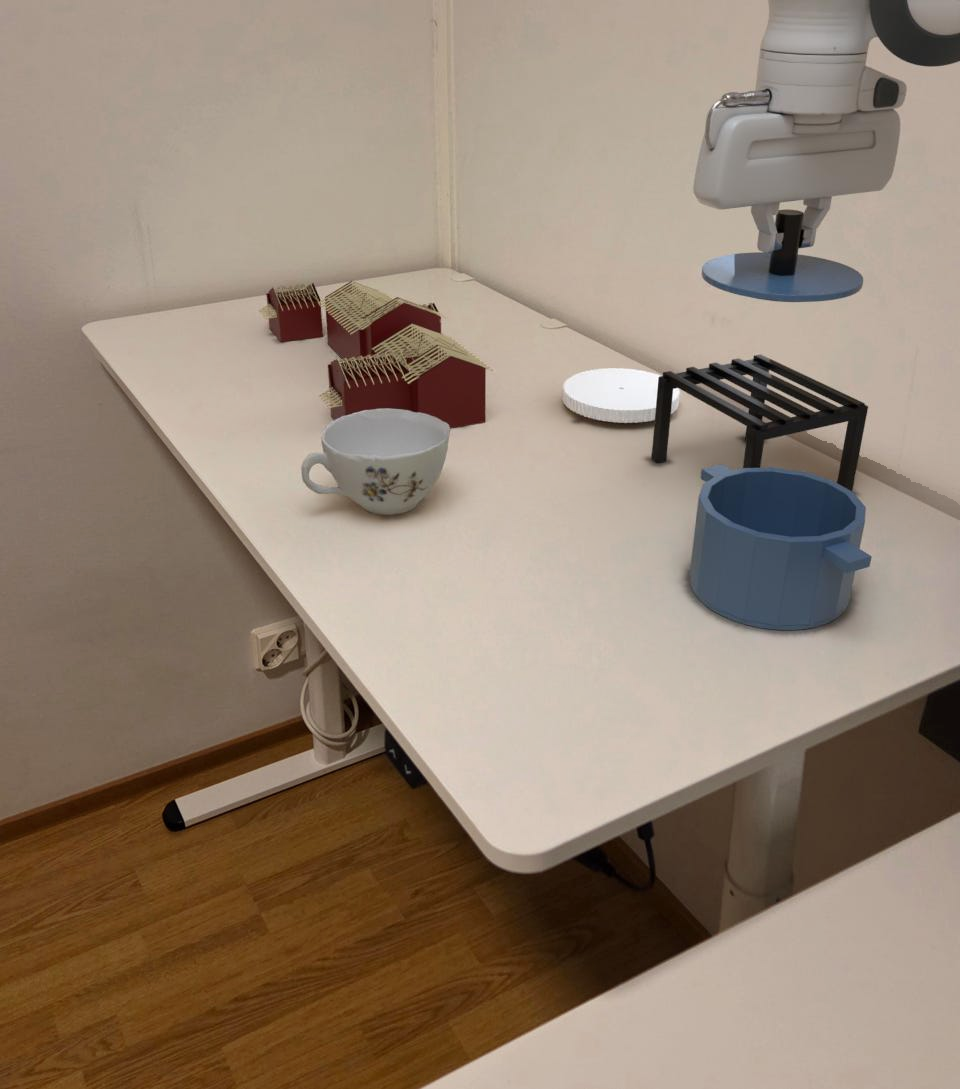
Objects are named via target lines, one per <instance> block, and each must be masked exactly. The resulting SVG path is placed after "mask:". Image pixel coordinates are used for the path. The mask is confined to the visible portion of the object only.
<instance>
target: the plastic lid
mask: <svg viewBox="0 0 960 1089" xmlns="http://www.w3.org/2000/svg"><path fill="white" fill-rule="evenodd" d="M660 376H661V375H660V374H656V373H654V372H651V371H647V370H642V369H640V370H638V369H636V368H635V369H633V368H622V367H621V368H619V367H615V368H613V367H610V368H608V367H605V368H596V369H591V370H590V369H589V370H584V371H581V372H579V373H578V372H577V373H576V374H573V375H571V376H570V377H568V378H566V380H564V382H563V384H562V395H561V396H562V398H561V399H562V403H563V405H565V407H567V409H569V410H570V411H572V412H573V413H575V414H577V415H580V416H583V417H585V418H586V417H587V418H588V419H592V420H597V421H602V422H609V423H618V424H621V423H624V424H627V423H629V424H632V423H635V424H638V423H643V422H645V423H648V422H652V421H655V412H656V401H657V390H658V379H659V377H660ZM680 398H681V389H679V388H675V389H673V396H672V406H671V414H674V413H675V412H676V411H677V410H678V409H679V407H680Z"/></svg>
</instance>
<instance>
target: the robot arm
mask: <svg viewBox="0 0 960 1089" xmlns="http://www.w3.org/2000/svg"><path fill="white" fill-rule="evenodd" d="M767 3H768V19H767V24H766V28H765V30H764V34H763V36H762V38H761V42H760V45H759V46H760V47H759V56H758V64H757V70H756V71H757V72H756V81H755V89H754V90H750V91H749V90H748V91H746V92H736V91H732V92H727V93H724V94H723V95H722V96H721V98H719V99H718V100H716V101H715V102H714V104H712V105H711V107H710V108H709V109H708V111H707V113H706V118H705V126H704V133H703V137H702V140H701V144H700V149H699V153H698V156H697V163H696V168H695V174H694V179H693V194H694V196H695V198H696V200H697V201H698V203H699V204H701V205H704V206H706V207H709V208H713V209H716V210H730V209H738V208H746V207H751V208H750V213H751V216H752V218H753V221H754V224H755V226H756V228H757V230H758V236H757V242H756V244H757V245H756V246H757V249H758V251H759V252H765V253H771V252H776V251H781V249H782V246H783V245H782V241H783V239H784V232H781V231H777V229H776V226H775V218H774V216H776V215H777V214H778V212H779V210H780V205H781V204H780V203H789V202H796V201H802V203H803V204H802V205H803V206H806V208H805V210H804V212H803V213H804V215H803V222H802V229H801V236H800V243H799V249H804V248H811V247H814V245H815V241H816V236H817V229H818V228H819V227H820V225H821V223H822V222H823V220H824V219H825V217H826V216H827V214H828V212H829V211H830V210H831V205H832V198H833V197H838V196H846V195H847V196H848V195H854V194H863V193H864V194H865V193H873V192H880V191H882V190H884V189H885V187H886V186H887V185H888V183H889V182H890V181H891V179H892V176H893V173H894V171H895V166H896V161H897V156H898V149H899V142H900V136H901V118H900V114H899V113H898V111H897V110H896V109H899V108H901V107H902V106H903V104H904V102H905V101H906V96H907V90H908V89H907V88H908V87H907V84H906V82H904V81H902V80H900V79H898V78H896V77H893V76H891V75H888V74H886V73H884V72H882V71H879V70H877V69H875V68H872V67H871V66H867V65H866V64H867V60H868V59H867V58H868V51H869V46H870V43H871V41H872V40H873V39H874V38H877V39H879V41H880V42H881V44H882V45H883V46H884V47H885V48H886V49H887V50H888V51H889V53H890V54H892V55H894V56H895V57H897V58H898V59H900V60H901V61H904V62H905V63H909V64H912V65H915V66H920V67H943V66H950V65H952V64H955V63H960V0H767ZM721 105H722V106H721Z"/></svg>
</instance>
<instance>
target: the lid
mask: <svg viewBox="0 0 960 1089" xmlns="http://www.w3.org/2000/svg"><path fill="white" fill-rule="evenodd" d="M803 215H804V212H803V211H801V210H797V209H790V208H789V209H779V212H778V214H777V215H775V219H774V222H775V226H776V229H777V231H781V232H784V239H783V241H782V245H783V246H782V249H781V251H776V252H771V253H765V252H762V251H759V252H758V251H757V252H756V251H755V252H741V253H740V252H739V253H732V254H725V255H722V256H717V257H715V258H711V259H709V260H707V261H706V262H705V263H703V265H702V267H701V277H702V279H703V281H705V283H707V284H708V285H710V286H712V287H714V288H716V289H718V290H721V291H724V292H727V293H730V294H734V295H738V296H742V297H746V298H752V299H756V300H762V301H769V302H778V303H779V302H780V303H811V302H812V303H814V302H815V303H817V302H826V301H827V302H828V301H834V300H840V299H845V298H848V297H851V296H853V295H855V294H857V293H859V292H861V289H863V286H864V276H863V275H862V273H860V272H859V270H856V269H855V268H853V267H851V266H849V265H846V264H844V263H840V262H837V261H835V260H831V259H828V258H827V259H826V258H823V257H817V256H812V255H805V254H799V249H800V248H799V243H800V236H801V229H802V222H803Z"/></svg>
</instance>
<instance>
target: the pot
mask: <svg viewBox="0 0 960 1089" xmlns="http://www.w3.org/2000/svg"><path fill="white" fill-rule="evenodd" d="M700 479H701V480H702V481H704V483H703V484H702V485H701V489H700V492H699V494H698V497H697V498H698V499H697V508H696V514H695V515H696V516H695V525H694V533H693V543H692V552H691V559H690V567H689V580H690V586H691V589H692V592H693V593H694V595H695V596H696V598H697V599H698V600H699V601H700V602H701V603H702V604H703V605H704V606H706V607H707V608H708V609H710V610H711V611H713V612H714V613H716V614H718V615H720V616H722V617H724V618H726V619H729V620H731V621H733V622H735V623H736V622H737V623H739V624H743V625H746V626H749V627H755V628H758V629H759V628H760V629H766V630H772V631H773V630H775V631H798V630H799V631H802V630H807V629H808V630H809V629H813V628H817V627H821V626H824V625H827V624H830V623H831V622H833V621H834V620H836V619H837V618H839V617H840V616H842V614H843V613H844V612H845V611H846V609H847V607H848V605H849V603H850V599H851V594H852V589H853V583H854V579H855V575H856V574H855V573H856V572H857V571H860V570H863V569H867V568H870V567H871V562H872V558H873V556H872V555H871V554H869V553H867V552H866V551H864V550H862V549H861V544H862V538H863V533H864V528H865V524H866V509H867V507H866V505H864V503H863V502H862V501H861V499H860V498H859V497H858V496H857V494H855V492H854V491H853V490H852V491H850V490H848V489H846V488H845V487H843V486H841V485H839V484H838V483H837V481H834V480H831V479H829V478H825V477H822V476H819V475H815V474H813V473H809V472H806V471H800V470H794V469H786V468H780V467H771V466H769V467H760V468H743V467H742V468H738V469H734V470H733V469H731V468H729V467H728V466H726V465H725V464H717V465H713V466H709V467H704V468H702V469H701V470H700Z"/></svg>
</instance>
